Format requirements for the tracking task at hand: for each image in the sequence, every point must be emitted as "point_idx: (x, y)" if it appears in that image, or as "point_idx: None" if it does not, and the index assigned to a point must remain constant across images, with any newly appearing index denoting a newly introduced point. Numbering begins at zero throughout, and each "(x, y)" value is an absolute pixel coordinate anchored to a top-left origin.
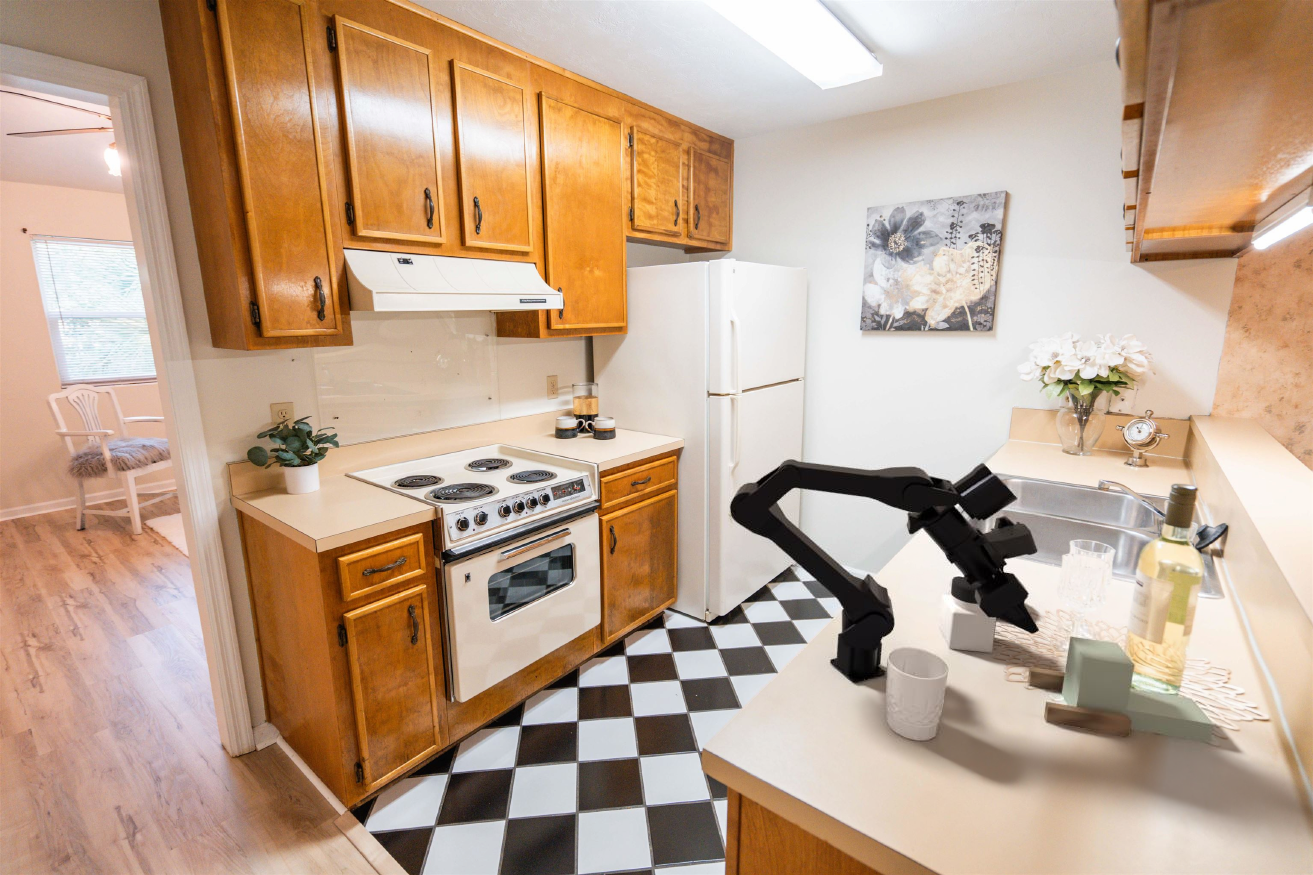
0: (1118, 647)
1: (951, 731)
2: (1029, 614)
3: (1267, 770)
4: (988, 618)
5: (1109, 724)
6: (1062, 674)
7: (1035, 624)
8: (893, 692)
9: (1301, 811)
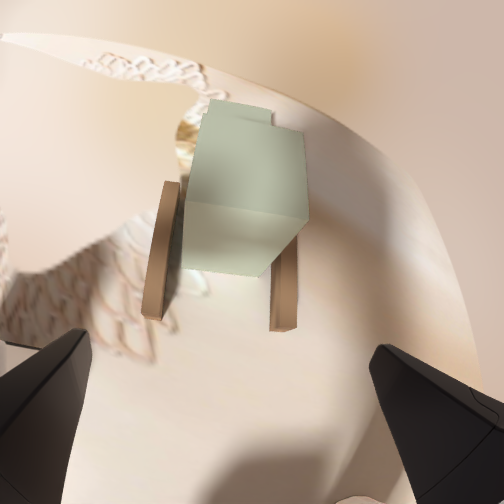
0: (227, 120)
1: (348, 479)
2: (467, 387)
3: (297, 112)
4: (9, 366)
5: None
6: (160, 250)
7: (415, 359)
8: None
9: (349, 129)
